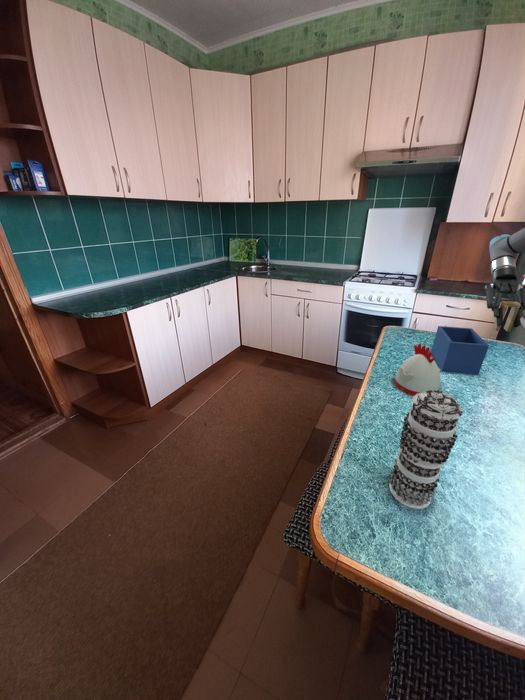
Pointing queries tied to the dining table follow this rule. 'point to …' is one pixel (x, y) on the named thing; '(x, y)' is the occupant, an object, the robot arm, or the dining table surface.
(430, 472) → the decorative candle
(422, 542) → the dining table surface
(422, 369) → the kitchen timer
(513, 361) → the dining table surface
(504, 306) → the wood clip
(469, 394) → the dining table surface
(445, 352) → the blue bin
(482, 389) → the dining table surface
